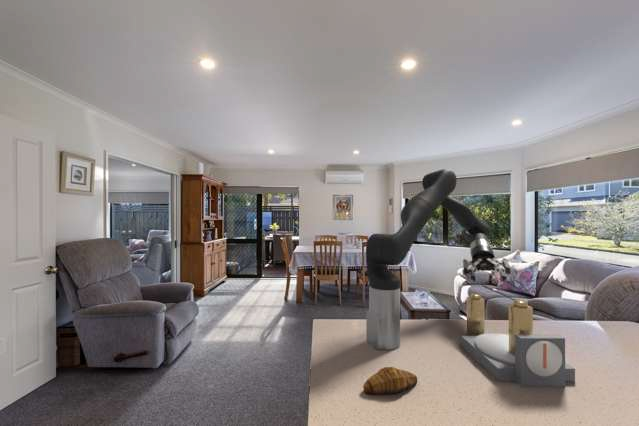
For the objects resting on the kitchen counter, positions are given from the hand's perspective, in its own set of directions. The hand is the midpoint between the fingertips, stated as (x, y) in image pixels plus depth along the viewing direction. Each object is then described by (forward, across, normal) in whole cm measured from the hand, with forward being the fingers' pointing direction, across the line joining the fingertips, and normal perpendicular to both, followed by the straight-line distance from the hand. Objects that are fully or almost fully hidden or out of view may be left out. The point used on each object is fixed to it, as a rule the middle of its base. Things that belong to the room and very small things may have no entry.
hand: (488, 279), depth 96 cm
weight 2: (+27, +3, +2) cm, 27 cm away
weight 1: (+12, -6, +13) cm, 19 cm away
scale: (+27, +2, +7) cm, 28 cm away
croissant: (+47, -26, -5) cm, 54 cm away
